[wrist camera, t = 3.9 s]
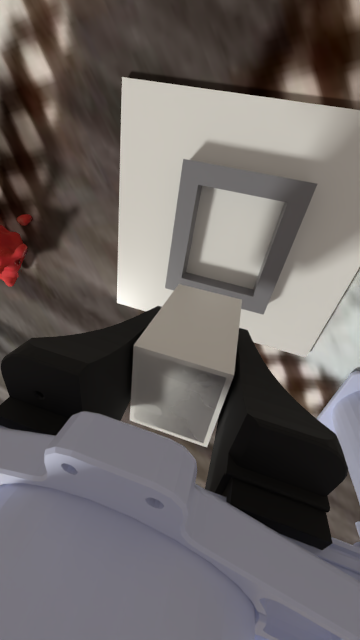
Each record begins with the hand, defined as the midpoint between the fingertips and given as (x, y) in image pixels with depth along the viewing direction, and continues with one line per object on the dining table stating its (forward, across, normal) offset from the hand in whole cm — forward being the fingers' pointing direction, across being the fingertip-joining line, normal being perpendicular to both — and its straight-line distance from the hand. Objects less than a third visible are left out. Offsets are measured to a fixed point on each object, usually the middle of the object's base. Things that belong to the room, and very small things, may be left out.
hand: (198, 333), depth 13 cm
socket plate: (+8, 0, -3) cm, 9 cm away
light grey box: (+2, 0, 0) cm, 2 cm away
